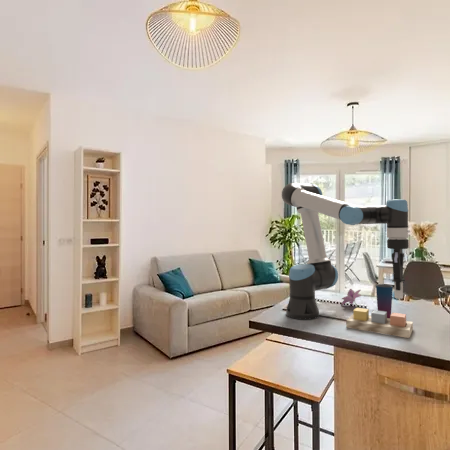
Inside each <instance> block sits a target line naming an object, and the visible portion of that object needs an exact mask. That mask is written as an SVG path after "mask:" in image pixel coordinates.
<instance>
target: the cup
mask: <svg viewBox="0 0 450 450" xmlns="http://www.w3.org/2000/svg"><path fill="white" fill-rule="evenodd" d="M393 287H394V286H393V285H391V284H384V283H379V284H378V283H377V284H376V285H375V291H376V293H375V294H376V304H377V305H376V307H377V310H378V311H385V312H387V318H390V315H391V314H392V308H393V307H392V305H393Z"/></svg>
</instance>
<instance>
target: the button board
mask: <svg viewBox="0 0 450 450" xmlns="http://www.w3.org/2000/svg"><path fill="white" fill-rule="evenodd" d="M345 325H346V327H345V328H348V329H353V330H354V329H355V330H360V331H365V332H371V333H377V334H382V335H388V336H389V335H390V336H394V337H399V338H400V337H401V338H405V339H407V338H408V339H410V338H411V336H412V333H413V330H414V321H409V320H406V326H405V327H401V326H395V325H390V318H387V322H386V324H382V323H375V322H371V315H369V319H368V320H367V321H363V320H356V319H354V317H353V314H351V315H350V316H349V317H347V319H346V324H345Z"/></svg>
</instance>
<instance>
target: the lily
mask: <svg viewBox="0 0 450 450" xmlns="http://www.w3.org/2000/svg"><path fill="white" fill-rule="evenodd" d="M360 292H361V289H358V290H356V291H354V290H353V288H349V290H348V291H347V294H346V296H343V297H342V298H341V300H342V302H341V303H340V306H343V305H345V304H347V303H349V304H350V305H353V303H354V304H355V305H356V308H359V306H358V305H357V303H356V299H358V298H360V297H361V296H362V294H360Z"/></svg>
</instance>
